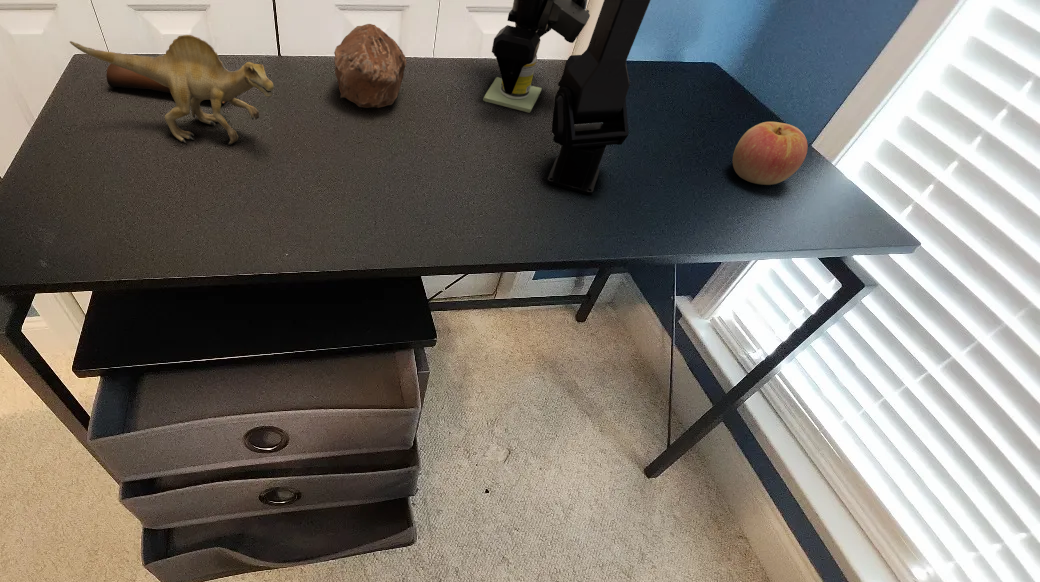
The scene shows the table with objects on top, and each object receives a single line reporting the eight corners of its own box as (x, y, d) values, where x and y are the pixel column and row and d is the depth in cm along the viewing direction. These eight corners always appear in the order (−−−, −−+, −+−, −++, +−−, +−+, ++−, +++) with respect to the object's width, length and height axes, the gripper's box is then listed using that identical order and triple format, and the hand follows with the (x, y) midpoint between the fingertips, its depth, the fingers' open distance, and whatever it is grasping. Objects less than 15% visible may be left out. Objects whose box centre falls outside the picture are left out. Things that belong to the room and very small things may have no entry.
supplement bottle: (495, 87, 100) (505, 34, 93) (520, 85, 101) (532, 32, 94) (507, 101, 97) (518, 48, 91) (533, 99, 98) (546, 46, 92)
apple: (790, 199, 86) (825, 149, 80) (728, 189, 86) (757, 139, 80) (776, 166, 91) (808, 117, 85) (718, 157, 92) (745, 107, 86)
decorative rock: (340, 74, 100) (340, 9, 93) (406, 81, 100) (411, 17, 92) (327, 113, 92) (325, 46, 84) (399, 121, 92) (404, 55, 84)
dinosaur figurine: (278, 158, 84) (268, 61, 73) (98, 130, 85) (63, 31, 75) (293, 129, 88) (286, 35, 78) (123, 103, 90) (93, 7, 79)
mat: (529, 113, 96) (530, 109, 96) (482, 100, 98) (483, 97, 97) (540, 91, 101) (541, 88, 101) (495, 80, 103) (496, 76, 102)
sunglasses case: (239, 78, 96) (226, 51, 89) (230, 118, 95) (217, 93, 88) (131, 63, 97) (111, 35, 90) (121, 102, 96) (100, 77, 89)
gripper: (582, 8, 78) (551, 119, 91) (605, -35, 90) (574, 69, 102) (501, -10, 80) (481, 101, 93) (533, -50, 92) (511, 54, 104)
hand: (515, 81), depth 98 cm, fingers open, 9 cm apart
